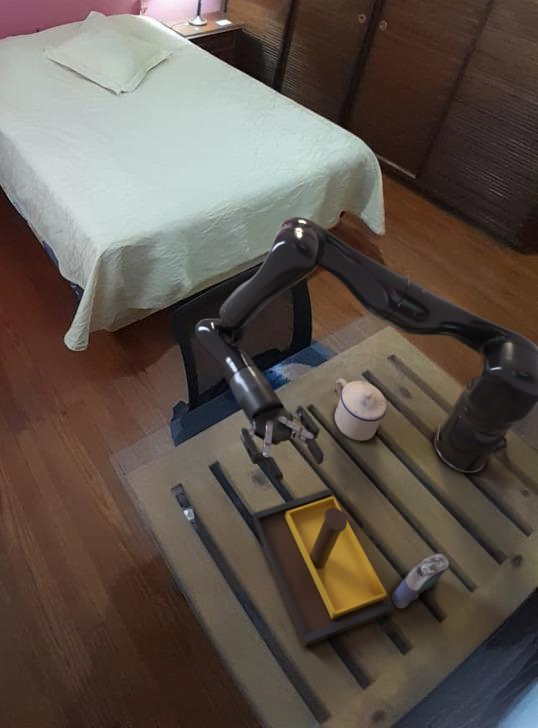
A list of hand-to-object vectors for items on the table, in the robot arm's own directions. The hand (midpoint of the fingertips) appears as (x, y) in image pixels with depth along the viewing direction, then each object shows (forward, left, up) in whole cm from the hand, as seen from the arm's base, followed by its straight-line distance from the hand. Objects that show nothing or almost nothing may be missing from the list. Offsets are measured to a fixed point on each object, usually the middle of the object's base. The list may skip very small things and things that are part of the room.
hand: (301, 470), depth 98 cm
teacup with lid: (-21, -12, -14) cm, 28 cm away
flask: (-13, +19, -14) cm, 27 cm away
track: (0, +11, -13) cm, 17 cm away
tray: (-2, +11, -12) cm, 16 cm away
